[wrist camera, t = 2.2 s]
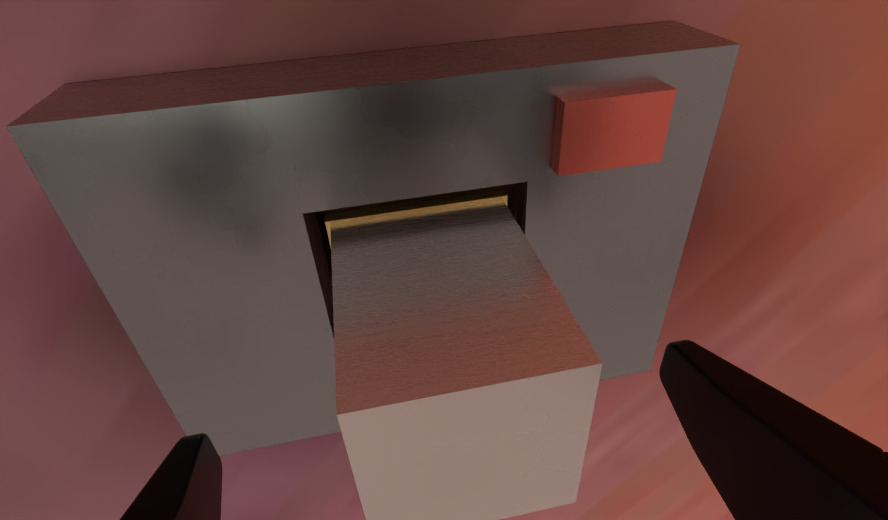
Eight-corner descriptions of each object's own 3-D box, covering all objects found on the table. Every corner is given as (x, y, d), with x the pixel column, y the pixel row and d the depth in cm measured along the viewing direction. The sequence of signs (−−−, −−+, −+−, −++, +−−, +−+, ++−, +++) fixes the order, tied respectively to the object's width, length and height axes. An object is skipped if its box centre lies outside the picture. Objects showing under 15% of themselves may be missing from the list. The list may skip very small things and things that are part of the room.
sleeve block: (214, 392, 17) (197, 475, 14) (64, 83, 11) (-9, 137, 8) (614, 319, 18) (658, 382, 16) (673, 20, 13) (757, 49, 10)
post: (350, 302, 15) (369, 551, 10) (324, 178, 13) (328, 411, 7) (483, 279, 16) (579, 503, 10) (482, 156, 14) (609, 357, 8)
